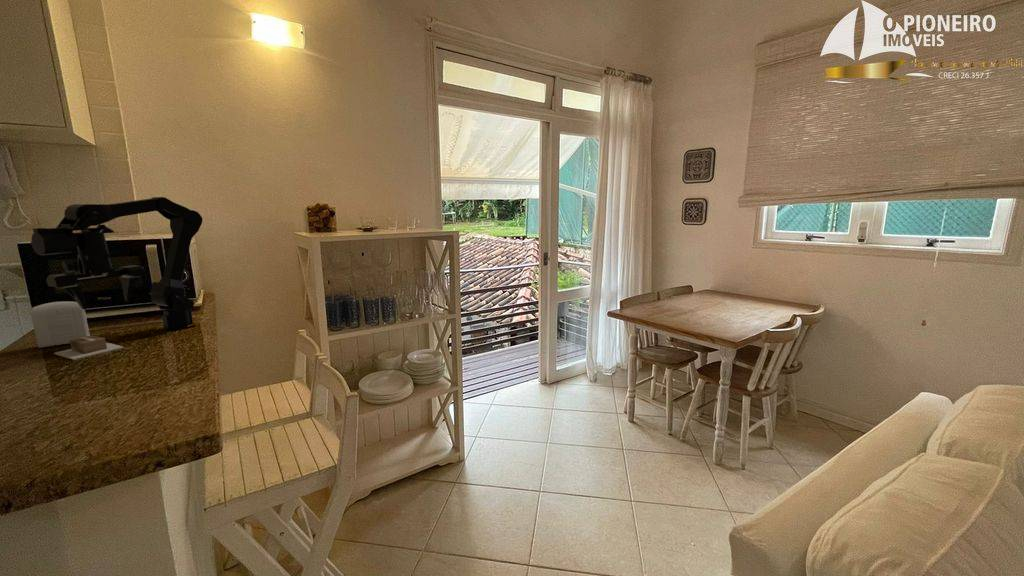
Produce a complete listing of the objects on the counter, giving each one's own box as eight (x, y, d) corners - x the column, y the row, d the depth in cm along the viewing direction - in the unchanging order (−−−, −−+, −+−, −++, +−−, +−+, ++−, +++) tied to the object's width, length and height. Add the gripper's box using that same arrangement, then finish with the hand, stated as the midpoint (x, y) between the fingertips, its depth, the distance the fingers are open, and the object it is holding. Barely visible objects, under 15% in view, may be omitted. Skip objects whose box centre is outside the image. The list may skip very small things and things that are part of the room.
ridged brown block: (107, 348, 109) (104, 337, 109) (85, 354, 105) (82, 342, 104) (94, 345, 112) (91, 334, 111) (71, 350, 108) (69, 339, 107)
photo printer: (91, 337, 120) (82, 298, 117) (90, 341, 117) (81, 300, 114) (39, 345, 113) (29, 303, 110) (37, 349, 110) (26, 306, 107)
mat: (103, 342, 115) (103, 341, 115) (123, 348, 111) (123, 346, 111) (54, 354, 106) (54, 352, 106) (74, 360, 102) (73, 358, 102)
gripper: (120, 245, 120) (132, 295, 124) (29, 253, 103) (45, 310, 107) (141, 247, 116) (152, 298, 119) (49, 255, 99) (65, 315, 102)
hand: (106, 305), depth 112 cm, fingers open, 9 cm apart
